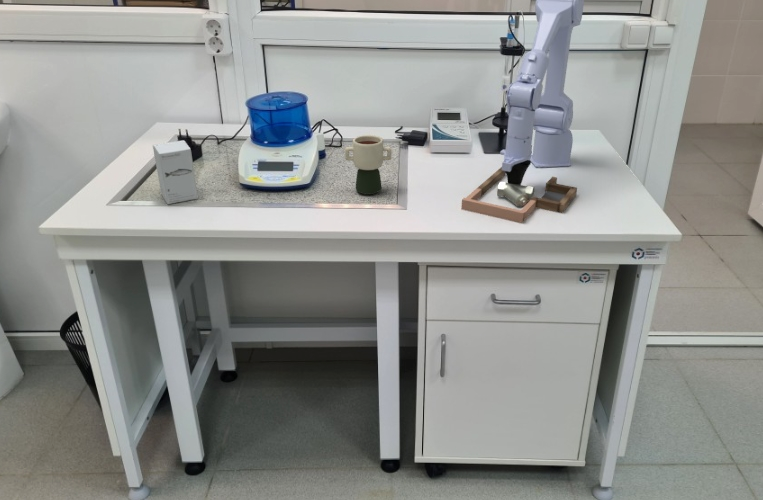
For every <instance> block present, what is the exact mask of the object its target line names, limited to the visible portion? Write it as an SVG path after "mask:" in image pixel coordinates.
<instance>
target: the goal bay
mask: <svg viewBox="0 0 763 500" xmlns="http://www.w3.org/2000/svg"><path fill="white" fill-rule="evenodd" d="M481 191H482V189H479V188H478V187H476V188H475V189H474V190H473V191H472V192H471V193H469V194H468V195H467V196H466V197H463V198H462V199H461V206H460V207H461V210H464V211H467V212H471V213H476V214H480V215H485V216H488V217H493V218H498V219H502V220H506V221H509V222H514V223H519V224H523V223H524V222H525V221H526V220H527V218H529V216H530V215H531V214H532V213H533V212H534V211H535V210H536V208H535V204H536V201H534V200H530V201H527V203H526V204H525V205H524V206H523V208H522V209H516V208H512V207H508V206H504V205H503V206H502V205H498V204H493V203H490V202H485V201H480V199H481Z"/></svg>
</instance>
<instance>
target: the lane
mask: <svg viewBox="0 0 763 500" xmlns="http://www.w3.org/2000/svg"><path fill="white" fill-rule="evenodd" d="M505 176H507V175H506V172H505V171H503V170H502V166H501V167H500V168H498V170H496V171H495V172H494V173H493V174H491V176H489V177H488V178H487V179H485V180H484V181H483V182H482V183H481V184H480V185H478V187H477V188H479V189H482V191H481V197H483V195H485V194H486V193H487V192H488V191H489V190H490V189H492V188H493V187H494V186H495V185H496V184H497V183H499V182H500V181H501V180H502V179H503V178H504V177H505ZM557 182H558V177H555V176H551V177H550V178H549V180H548V181H547V182H546V183H545V187H544V191H545V193H543V195H542V196H541V197H537V196H533V198H532V199H531V200H534V201H536V204H535V209H536V208H537V209H542V210H545V211H550V212H554V213H559V214H563V213H564V212H565V210H566V209H567V208H568V206H569V205H570V204H571V203H572V201H573V200H574V199H575V198H576V196H577V193H578V187H577V186H576V187H575V186H572V185H571V186H570V185H565V184H562V183H561V184H560V183H557ZM481 197H480V198H481Z"/></svg>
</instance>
